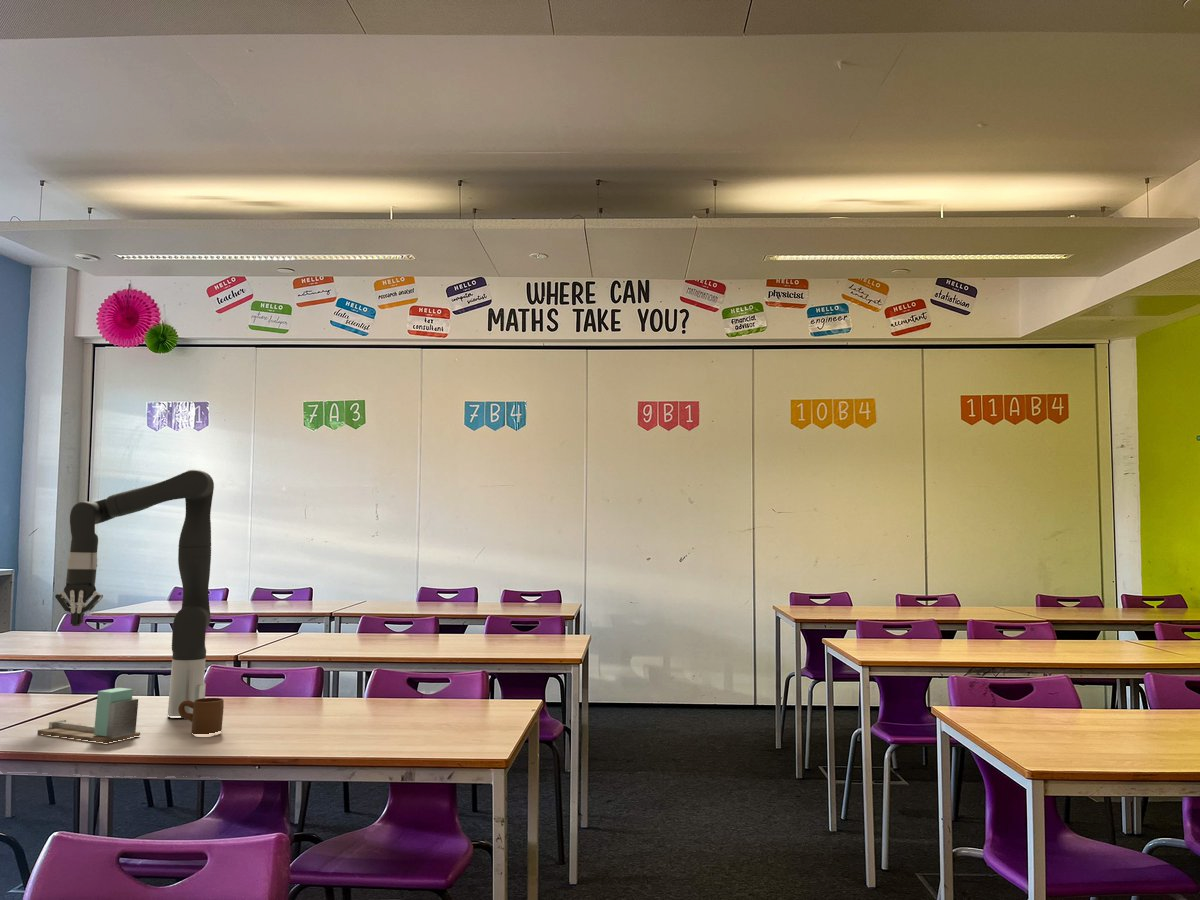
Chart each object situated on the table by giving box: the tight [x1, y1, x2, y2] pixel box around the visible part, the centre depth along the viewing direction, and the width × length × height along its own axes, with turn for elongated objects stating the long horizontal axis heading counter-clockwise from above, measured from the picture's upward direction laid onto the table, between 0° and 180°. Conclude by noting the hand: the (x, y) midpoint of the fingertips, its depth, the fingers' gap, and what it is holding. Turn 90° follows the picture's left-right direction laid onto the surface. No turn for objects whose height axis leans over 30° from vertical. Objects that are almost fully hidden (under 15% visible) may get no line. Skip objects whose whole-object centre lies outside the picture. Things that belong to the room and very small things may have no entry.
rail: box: [48, 698, 139, 739], centre depth 224 cm, size 26×7×9 cm, turn 69°
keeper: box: [94, 687, 134, 736], centre depth 221 cm, size 5×6×11 cm
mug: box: [178, 697, 225, 734], centre depth 228 cm, size 12×8×9 cm, turn 90°
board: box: [37, 727, 141, 743], centre depth 223 cm, size 26×10×1 cm, turn 69°
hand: (76, 625), depth 248 cm, fingers closed
